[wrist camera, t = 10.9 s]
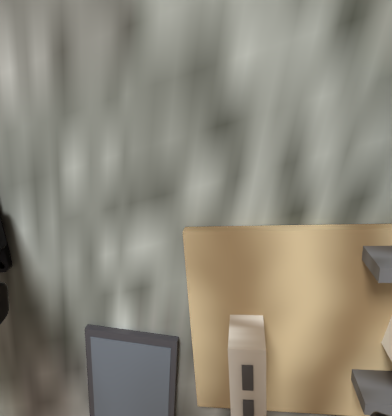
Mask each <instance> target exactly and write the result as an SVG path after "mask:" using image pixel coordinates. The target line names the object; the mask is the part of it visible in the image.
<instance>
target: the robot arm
mask: <svg viewBox="0 0 392 416" xmlns="http://www.w3.org/2000/svg"><path fill="white" fill-rule="evenodd" d="M2 262H3V263H4V265H5V266H4V265H3V264H2ZM11 267H12V260H11V256H10V252H9V248H8V244H7V241H6V237H5V233H4V229H3V225H2V221H1V217H0V272H6V271H7V270H8V269H10V268H11ZM8 311H9V298H8V286H7V284H5V283H3V282H1V281H0V324H1V323H2V321H3V320H4V319H5V318H6V316H7V314H8ZM370 416H389V415H386V414H384V413H381V412H378V411H375V412H373V413H372V414H371V415H370Z"/></svg>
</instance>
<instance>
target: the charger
mask: <svg viewBox="0 0 392 416" xmlns="http://www.w3.org/2000/svg"><path fill="white" fill-rule="evenodd" d="M381 343H382V345H383V347H384V349H385V351H386V352H387V354H388V356H389V358H390V360H391V361H392V317H391V319H390V322H389V324H388V327H387V329H386V332H385V334H384V337H383V340H382V342H381Z"/></svg>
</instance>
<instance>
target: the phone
mask: <svg viewBox="0 0 392 416" xmlns="http://www.w3.org/2000/svg"><path fill="white" fill-rule="evenodd" d="M178 339H179V337H176V336H169V335H161V334H154V333H147V332H140V331H133V330H125V329H118V328H111V327H104V326H96V325H89V324H88V325H87V326H86V328H85V340H86V356H87V373H88V390H89V406H90V416H175V399H176V379H177V359H178Z"/></svg>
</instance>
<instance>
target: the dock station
mask: <svg viewBox="0 0 392 416" xmlns="http://www.w3.org/2000/svg"><path fill="white" fill-rule="evenodd" d="M183 241H184V253H185V264H186V276H187V288H188V299H189V311H190V323H191V334H192V346H193V358H194V369H195V381H196V393H197V404H198V406H199V407H216V408H231V416H266V411H281V412H297V413H314V414H330V415H346V416H370V415H371V414H372V413H373V412H375V411H378V412H381V413H384V414H386V415H389V416H392V361H391V360H390V358H389V356H388V354H387V352H386V351H385V349H384V347H383V345H382V343H381V342H382V340H383V337H384V334H385V332H386V329H387V327H388V324H389V322H390V319H391V317H392V224H341V225H277V226H213V227H185V228H184V230H183Z"/></svg>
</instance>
